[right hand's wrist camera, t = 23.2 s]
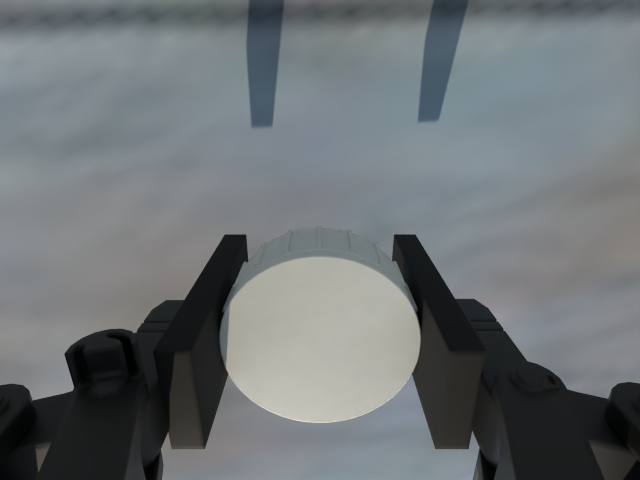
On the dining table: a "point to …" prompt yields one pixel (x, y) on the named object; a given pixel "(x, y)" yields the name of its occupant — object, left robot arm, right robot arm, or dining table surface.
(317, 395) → the lid
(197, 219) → the dining table surface
